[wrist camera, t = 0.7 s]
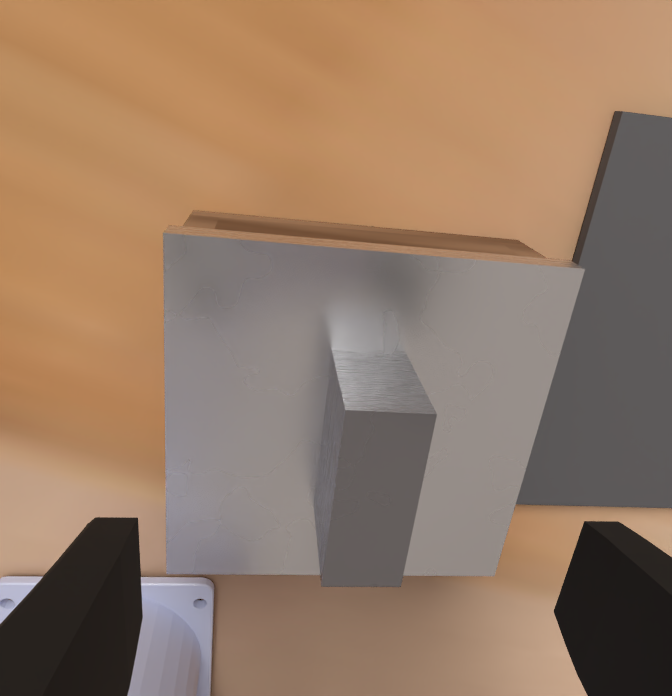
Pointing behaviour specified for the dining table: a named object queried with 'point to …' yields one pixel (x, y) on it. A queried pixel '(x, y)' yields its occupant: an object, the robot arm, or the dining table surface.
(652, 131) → the dark gray board
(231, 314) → the lid
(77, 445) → the dining table surface
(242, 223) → the walnut box
